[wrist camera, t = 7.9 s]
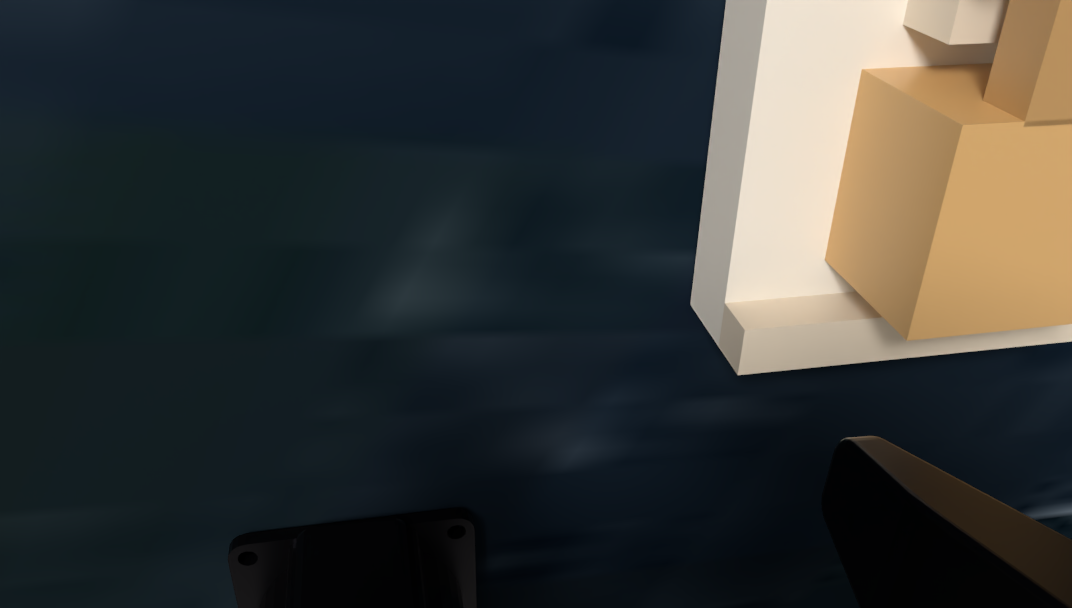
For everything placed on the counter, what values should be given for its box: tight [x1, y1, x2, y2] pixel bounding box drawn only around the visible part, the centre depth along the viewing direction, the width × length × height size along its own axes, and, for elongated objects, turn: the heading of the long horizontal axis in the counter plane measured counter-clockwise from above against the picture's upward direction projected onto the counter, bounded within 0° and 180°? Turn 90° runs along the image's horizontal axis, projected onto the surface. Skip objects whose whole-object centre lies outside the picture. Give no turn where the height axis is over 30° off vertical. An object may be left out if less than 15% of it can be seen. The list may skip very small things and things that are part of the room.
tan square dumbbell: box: [825, 0, 1072, 341], centre depth 17 cm, size 4×12×4 cm, turn 179°
